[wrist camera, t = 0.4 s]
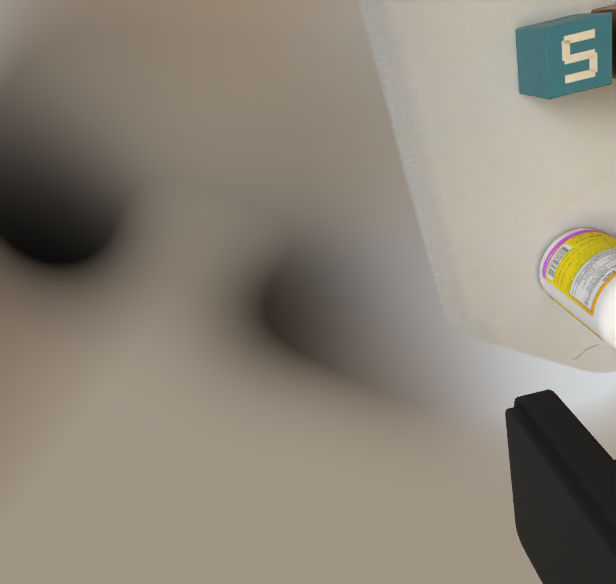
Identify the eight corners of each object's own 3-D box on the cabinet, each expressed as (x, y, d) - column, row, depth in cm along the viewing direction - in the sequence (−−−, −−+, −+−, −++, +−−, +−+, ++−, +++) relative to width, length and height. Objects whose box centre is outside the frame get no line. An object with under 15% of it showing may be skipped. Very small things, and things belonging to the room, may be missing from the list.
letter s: (515, 29, 41) (545, 28, 37) (576, 14, 41) (613, 11, 37) (519, 93, 43) (548, 99, 38) (577, 79, 43) (613, 84, 38)
